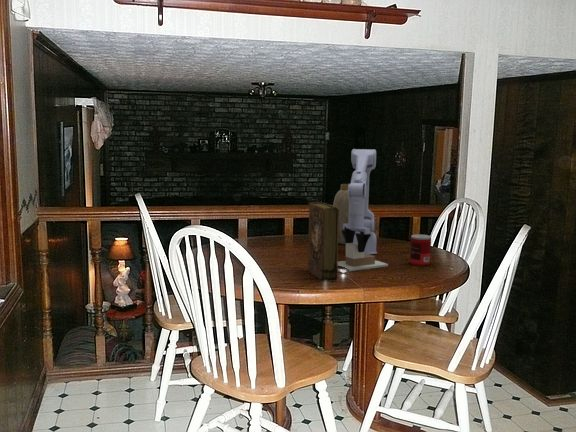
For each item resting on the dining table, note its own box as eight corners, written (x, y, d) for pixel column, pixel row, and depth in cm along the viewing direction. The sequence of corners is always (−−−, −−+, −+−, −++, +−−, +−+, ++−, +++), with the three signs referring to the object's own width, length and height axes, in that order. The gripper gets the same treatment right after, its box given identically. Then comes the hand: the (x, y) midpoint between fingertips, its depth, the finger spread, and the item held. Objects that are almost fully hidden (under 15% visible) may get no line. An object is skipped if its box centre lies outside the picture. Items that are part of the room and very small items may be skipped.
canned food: (430, 262, 218) (432, 235, 216) (429, 266, 210) (430, 238, 209) (411, 260, 220) (412, 233, 219) (408, 265, 213) (409, 237, 211)
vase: (332, 238, 268) (333, 182, 264) (368, 239, 266) (370, 183, 262) (330, 245, 251) (331, 186, 247) (368, 246, 249) (370, 186, 245)
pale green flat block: (369, 260, 221) (369, 250, 220) (388, 266, 210) (388, 256, 210) (331, 264, 212) (331, 254, 212) (349, 271, 202) (349, 261, 201)
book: (306, 269, 203) (308, 202, 200) (320, 269, 205) (322, 202, 201) (322, 281, 188) (323, 208, 184) (337, 280, 189) (339, 207, 186)
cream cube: (356, 255, 212) (356, 242, 211) (364, 257, 207) (364, 244, 207) (345, 256, 209) (345, 243, 209) (353, 258, 205) (353, 245, 204)
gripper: (336, 212, 211) (335, 247, 212) (359, 217, 198) (357, 254, 200) (351, 211, 214) (350, 246, 216) (374, 216, 201) (373, 253, 203)
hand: (355, 250), depth 208 cm, fingers open, 7 cm apart
